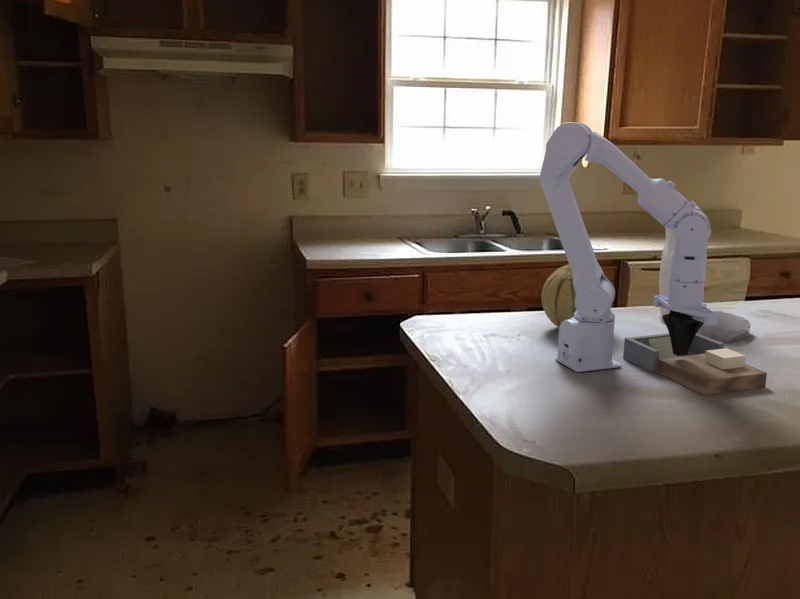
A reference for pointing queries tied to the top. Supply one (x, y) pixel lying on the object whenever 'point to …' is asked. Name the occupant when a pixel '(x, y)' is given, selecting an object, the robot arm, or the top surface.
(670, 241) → the skyscraper
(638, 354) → the box
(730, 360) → the cream tile
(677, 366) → the walnut board
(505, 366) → the top surface
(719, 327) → the stone block
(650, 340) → the sage tile
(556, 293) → the cantaloupe
